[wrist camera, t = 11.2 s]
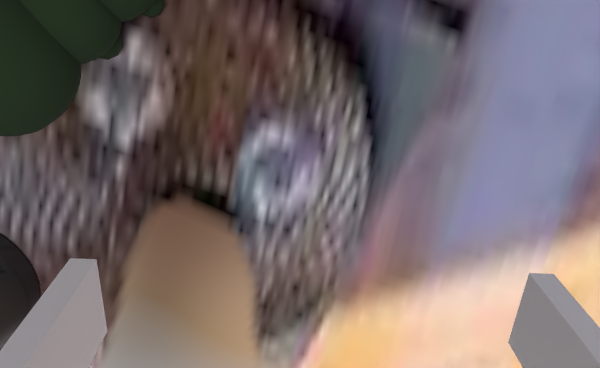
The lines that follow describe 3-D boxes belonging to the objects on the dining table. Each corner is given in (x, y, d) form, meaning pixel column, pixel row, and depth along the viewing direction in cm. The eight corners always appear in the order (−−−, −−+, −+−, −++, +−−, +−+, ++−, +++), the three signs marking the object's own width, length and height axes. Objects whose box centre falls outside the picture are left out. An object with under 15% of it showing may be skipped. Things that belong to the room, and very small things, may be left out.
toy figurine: (168, -161, 33) (-81, 64, 37) (66, -348, 15) (-397, 127, 19) (254, -38, 36) (17, 157, 40) (254, -72, 18) (-173, 285, 22)
